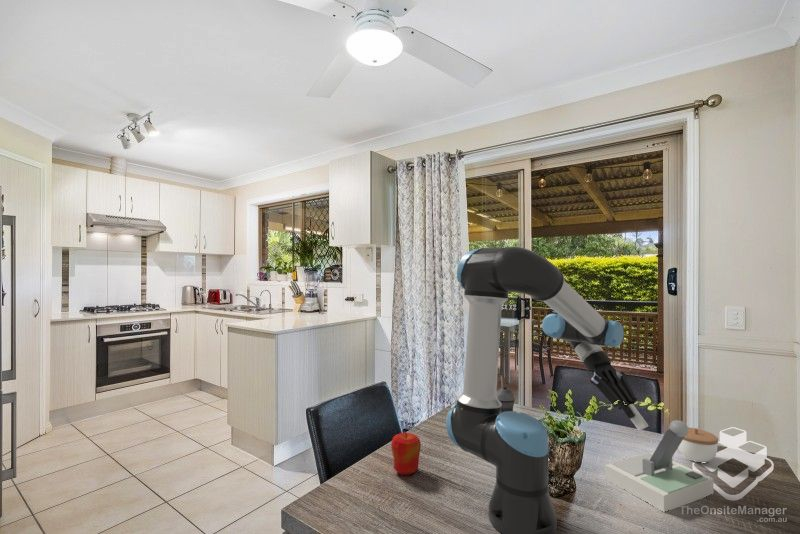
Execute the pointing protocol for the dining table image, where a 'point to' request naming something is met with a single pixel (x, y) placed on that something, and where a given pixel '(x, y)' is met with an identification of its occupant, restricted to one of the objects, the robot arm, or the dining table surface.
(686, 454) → the lidded jar
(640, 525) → the dining table surface
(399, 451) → the apple
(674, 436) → the toggle lever
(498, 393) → the beverage cup
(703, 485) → the switch box
